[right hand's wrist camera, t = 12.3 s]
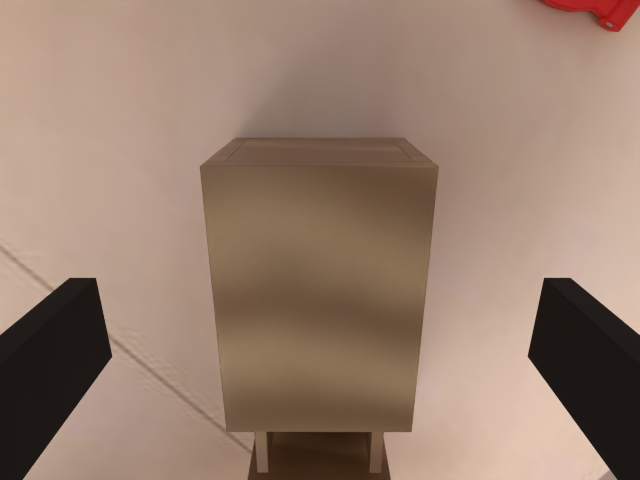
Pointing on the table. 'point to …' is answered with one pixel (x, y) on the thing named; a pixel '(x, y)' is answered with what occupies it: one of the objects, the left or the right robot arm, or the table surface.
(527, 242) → the table surface
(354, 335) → the cabinet
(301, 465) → the drawer
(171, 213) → the table surface
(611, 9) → the tow hook
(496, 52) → the table surface
